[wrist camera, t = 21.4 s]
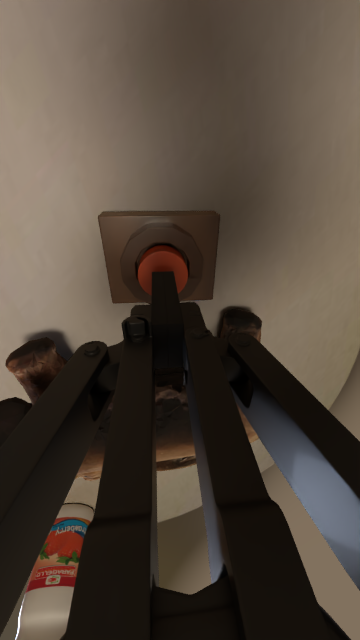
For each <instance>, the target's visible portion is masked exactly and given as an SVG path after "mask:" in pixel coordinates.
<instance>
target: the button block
mask: <svg viewBox="0 0 360 640" xmlns="http://www.w3.org/2000/svg"><path fill="white" fill-rule="evenodd" d="M98 221H99V226H100V232H101V238H102V244H103V250H104V255H105V261H106V267H107V273H108V279H109V284H110V290H111V296H112V302H113V303H136V302H146V303H149V304H151V295H149V294H148V293H146V292H145V291H144V290H143V288H142V287H141V285H140V283H139V280H138V268H139V262H140V259H141V257H142V256H143V254H144V253H145V252H146V251H147V250H148V249H150V248H152V247H154V246H158V245H166V246H170V247H173V248H175V249H176V250H177V251H179V252H180V253H181V255H182V256H183V258H184V260H185V263H186V266H187V270H188V280H187V283H186V285H185V287H184V288H183V290H182V291H181V292H179V293H178V296H179V301H186V300H211V299H213V289H214V278H215V267H216V256H217V245H218V234H219V223H220V214H218V213H217V212H215V211H131V212H102V213H101V214H100V215H99V216H98Z"/></svg>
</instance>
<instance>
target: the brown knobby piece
mask: <svg viewBox="0 0 360 640" xmlns="http://www.w3.org/2000/svg"><path fill="white" fill-rule="evenodd" d="M261 325H262V321H261V319H260V318H259V317H257V316H256V315H255V314H254V313H251V312H248V311H244V310H238V309H232V310H228V311H227V313H226V314H225V315H224V318H223V328H222V330H221V334H220V338H221V339H228V340H229V336H230V335H231V334H234V333H240V332H241V333H247V334H249V335H252V336H253V337H254V338H256V339H257V340H258V341H259V342H260V339H261ZM66 363H67V361H66V360H65V359H64V358H63V357H62V356H60V355H59V354H58V353H57V351H56V346H55V343H54V341H52V340H50V339H49V338H47V337H46V338H41V339H37V340H32V341H29V342H27V343H26V344H24V345H22V346H21V347H19V348H18V349H16V350H15V351H13V352H12V353H11V354H10V355H9V357H8V358H7V360H6V367H7V368H8V370H9V371H10V372H12V373H13V374H14V375H15V377H16V378H17V380H18V381H19V382H20V384H21V385H22V386H23V387H24V389H25V391H26V393H27V394H28V396H29V398H30V400H31V402H32V403H27V402H26V401H24V400H22V399H20V398H17V397H14V398H8V399H5V400H3V401H0V447H1V446H2V444H3V443H4V442H5V441H6V439H7V438H8V437H9V435H10V434H11V433H12V432H13V430H14V429H15V428H16V427H17V425H18V424H19V423H20V422H21V420H22V419H23V418H24V416H25V415H26V414H27V413H28V411H29V410H30V409H31V408H32V406H33V405H34V404H35V402H36V401H37V400H38V399H39V397H40V396H41V395H42V394H43V392H44V391H45V390H46V389H47V387H48V386H49V385H50V383H51V382H52V381H53V380H54V378H55V377H56V376H57V375H58V373H59V372H60V371H61V369H62V368H63V367H64V366H65V364H66ZM114 395H115V394H114ZM155 400H156V471H165V470H173V469H180V468H186V467H189V466H192V465H195V464H197V462H196V455H195V448H194V441H193V435H192V428H191V421H190V414H189V407H188V400H187V393H186V386H185V385H184V372H181V373H174V374H167V375H160V376H155ZM113 401H114V396H113V398H112V400H111V402H110V404H109V407H108V409H107V411H106V413H105V415H104V417H103V419H102V422H101V424H100V426H99V428H98V430H97V432H96V434H95V437H94V439H93V441H92V443H91V445H90V447H89V449H88V452H87V454H86V456H85V458H84V460H83V462H82V464H81V466H80V469H79V471H78V473H77V475H76V477H75V479H77V478H79V477H83V478H84V479H85V480H89V481H92V480H97V479H99V478H100V477H101V472H102V466H103V460H104V454H105V448H106V442H107V436H108V430H109V424H110V418H111V413H112V407H113ZM32 404H33V405H32ZM236 404H237V403H236ZM237 407H238V410H239V413H240V416H241V419H242V422H243V425H244V427H245V430H246V433H247V436H248V439H249V442H250V443H252V442H254V441H255V440H257V439H258V438H259V437H258V435H257V434H256V432H255V431H254V429H253V428H252V426H251V425H250V423H249V422H248V420H247V418H246V417H245V415H244V414H243V412H242V411H241V409H240V408H239V406H238V405H237Z"/></svg>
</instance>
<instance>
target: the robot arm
mask: <svg viewBox="0 0 360 640" xmlns="http://www.w3.org/2000/svg"><path fill="white" fill-rule="evenodd" d="M122 330H123V336H124V340H123V341H122V342H120V343H118V344H116V345H113V346H109V347H107V345H106V344H105V343H104V342H100V341H92V342H88V343H85V344H83V345H81V346H80V347H79V348H78V349H77V350H76V352H75V353H74V354H73V356H72V357H71V358H70V359H69V361H68V362H67V363H66V364H65V366H64V367H63V368H62V369H61V371H60V372H59V373H58V375H57V376H56V377H55V378H54V380H53V381H52V382H51V383H50V385H49V386H48V387H47V389H46V390H45V391H44V392H43V394H42V395H41V396H40V397H39V399H38V400H37V401H36V402H35V404H34V405H33V406H32V408H31V409H30V410H29V411H28V413H27V414H26V415H25V416H24V418H23V419H22V420H21V422H20V423H19V424H18V425H17V427H16V428H15V429H14V430H13V432H12V433H11V434H10V435H9V437H8V438H7V439H6V441H5V442H4V443H3V444H2V446H1V447H0V636H1V634H2V632H3V630H4V628H5V626H6V624H7V622H8V620H9V618H10V616H11V614H12V612H13V610H14V608H15V605H16V603H17V601H18V599H19V597H20V595H21V593H22V590H23V588H24V586H25V584H26V582H27V580H28V577H29V576H30V573H31V571H32V569H33V567H34V565H35V563H36V561H37V558H38V556H39V554H40V552H41V550H42V548H43V546H44V543H45V541H46V539H47V537H48V535H49V533H50V531H51V529H52V526H53V524H54V522H55V520H56V518H57V516H58V514H59V511H60V509H61V507H62V505H63V503H64V501H65V499H66V496H67V494H68V492H69V490H70V488H71V486H72V484H73V481H74V479H75V477H76V475H77V473H78V471H79V469H80V466H81V464H82V462H83V460H84V458H85V456H86V454H87V452H88V449H89V447H90V445H91V443H92V441H93V439H94V437H95V434H96V432H97V430H98V428H99V426H100V424H101V422H102V419H103V417H104V415H105V413H106V411H107V409H108V407H109V404H110V402H111V400H112V398H113V396H114V401H113V407H112V413H111V418H110V424H109V430H108V436H107V442H106V448H105V454H104V460H103V466H102V472H101V478H100V484H99V490H98V496H97V502H96V508H95V513H94V517H93V520H92V521H91V523H90V524H89V525H88V527H87V530H86V532H85V535H84V539H83V544H82V548H81V553H80V559H79V564H78V569H77V575H76V580H75V585H74V591H73V596H72V601H71V607H70V612H69V618H68V623H67V628H66V632H65V633H64V635H63V636H62V637H61V638H60V640H351V639H350V638H349V637H348V636H347V635H346V633H345V632H344V631H343V630H342V629H341V628H340V627H339V625H338V624H337V623H336V622H335V621H334V620H333V619H332V618H331V617H330V615H329V614H328V613H327V612H326V611H325V610H324V609H323V608H322V607H321V606H320V605H319V604H318V603H317V600H316V598H315V595H314V592H313V589H312V587H311V584H310V581H309V579H308V576H307V574H306V571H305V568H304V566H303V563H302V560H301V558H300V555H299V552H298V550H297V547H296V544H295V542H294V539H293V536H292V534H291V531H290V528H289V526H288V523H287V521H286V519H285V516H284V514H283V512H282V510H281V509H280V507H279V506H278V504H277V503H275V502H274V501H273V500H271V498H270V497H269V495H268V493H267V490H266V488H265V485H264V482H263V479H262V476H261V473H260V470H259V467H258V465H257V462H256V459H255V456H254V453H253V450H252V447H251V445H250V442H249V439H248V436H247V433H246V430H245V427H244V425H243V422H242V419H241V416H240V413H239V410H238V407H237V405H238V406H239V408H240V409H241V411H242V412H243V414H244V415H245V417H246V418H247V420H248V422H249V423H250V425H251V426H252V428H253V429H254V431H255V432H256V434H257V435H258V437H259V438H260V440H261V442H262V443H263V445H264V446H265V448H266V449H267V451H268V452H269V454H270V455H271V457H272V458H273V460H274V461H275V463H276V465H277V466H278V468H279V469H280V471H281V472H282V474H283V475H284V477H285V478H286V480H287V481H288V483H289V485H290V486H291V488H292V489H293V491H294V492H295V494H296V495H297V497H298V498H299V500H300V501H301V503H302V504H303V506H304V507H305V509H306V511H307V512H308V514H309V515H310V517H311V518H312V520H313V521H314V523H315V524H316V526H317V528H318V529H319V530H320V532H321V534H322V535H323V537H324V538H325V540H326V541H327V543H328V544H329V546H330V547H331V549H332V550H333V552H334V553H335V555H336V557H337V558H338V560H339V561H340V563H341V564H342V566H343V567H344V569H345V570H346V572H347V573H348V574H349V576H350V577H351V579H352V580H353V582H354V583H355V585H356V586H357V588H358V589H359V590H360V441H358V439H357V438H355V436H354V435H352V434H351V432H350V431H348V430H347V429H346V428H345V427H344V426H343V425H342V424H341V423H340V422H339V421H338V420H337V419H336V418H335V417H334V416H333V415H332V414H331V413H330V412H329V411H328V410H327V409H326V408H325V407H324V406H323V405H322V404H321V403H320V402H319V401H318V400H317V399H316V398H315V397H314V396H313V395H312V394H311V393H310V392H309V391H308V390H307V389H306V388H305V387H304V386H303V385H302V384H301V383H300V382H299V381H298V380H297V379H296V378H295V377H294V376H293V375H292V374H291V373H290V372H289V371H288V370H287V369H286V368H285V367H284V366H283V365H282V364H281V363H280V362H279V361H278V360H277V359H276V358H275V357H274V356H273V355H272V354H271V353H270V352H269V351H268V350H267V349H266V348H265V347H264V346H263V345H262V344H261V343H260V342H259V341H258V340H257V339H256V338H254V337H253V336H252V335H249V334H247V333H241V332H240V333H234V334H231V335H230V336H229V340H228V339H221V338H217V337H214V336H212V333H211V332H210V330H208V329H206V326H205V323H204V320H203V317H202V314H201V311H200V308H199V306H198V305H197V304H196V303H195V302H186V303H180V301H179V296H178V291H177V286H176V281H175V276H174V271H164V272H152V295H151V305H135V306H134V307H133V308H132V309H131V316H130V317H128V318H126V319H125V320H124V321H123V322H122ZM183 364H184V385H185V386H186V393H187V400H188V407H189V414H190V421H191V428H192V435H193V441H194V448H195V455H196V462H197V469H198V476H199V483H200V490H201V497H202V504H203V510H204V518H205V524H206V531H207V538H208V554H209V566H210V574H211V581H212V584H211V585H209V586H207V587H205V588H204V589H202V590H200V591H198V592H197V593H195V594H192V595H188V594H183V593H180V592H176V591H172V590H168V589H164V588H160V587H159V570H158V547H157V546H158V545H157V474H156V400H155V369H160V368H175V367H183ZM114 394H115V395H114ZM236 403H237V404H236Z"/></svg>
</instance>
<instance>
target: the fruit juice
mask: <svg viewBox="0 0 360 640" xmlns="http://www.w3.org/2000/svg"><path fill="white" fill-rule="evenodd" d="M93 517H94V512H93V510H92V509H91V508H90V507H88V506H86V505H81V504H65V505H62V507H61V509H60V511H59V514H58V516H57V518H56V520H55V522H54V524H53V526H52V529H51V531H50V533H49V535H48V537H47V539H46V541H45V543H44V546H43V548H42V550H41V552H40V554H39V556H38V558H37V561H36V563H35V565H34V567H33V570H32V573H31V576H30V580H29V583H28V586H27V590H26V593H25V596H24V599H23V603H22V607H21V610H20V615H19V621H18V625H19V626H18V633H17V636H16V639H15V640H60V638H61V637H62V636H63V635H64V633H65V632H66V628H67V623H68V618H69V612H70V607H71V601H72V596H73V591H74V585H75V580H76V575H77V569H78V564H79V559H80V553H81V548H82V544H83V539H84V535H85V532H86V530H87V527H88V525H89V524H90V523H91V521H92V520H93Z"/></svg>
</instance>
